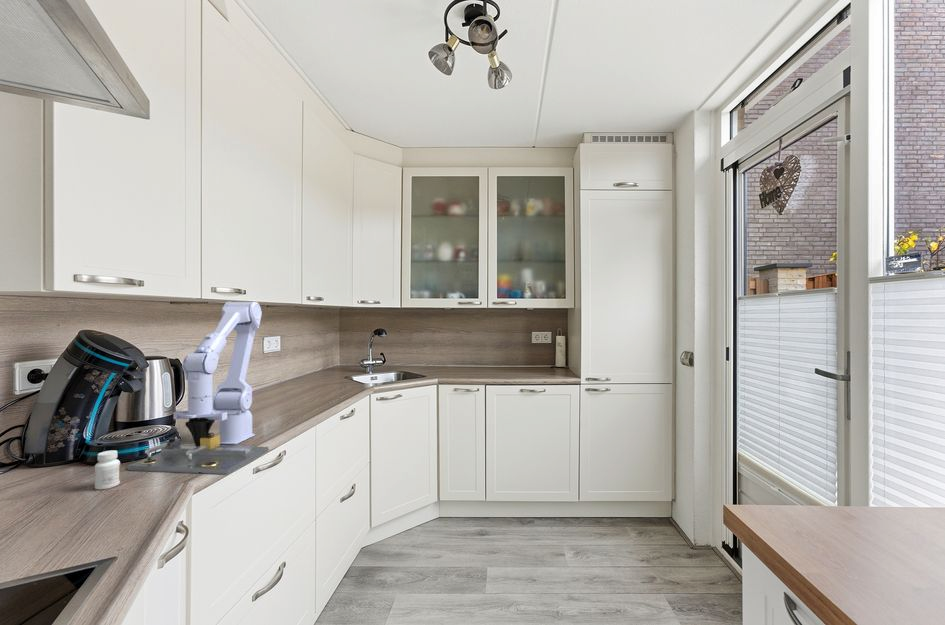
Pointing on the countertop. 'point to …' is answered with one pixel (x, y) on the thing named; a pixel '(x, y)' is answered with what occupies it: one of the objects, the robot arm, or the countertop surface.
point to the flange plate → (198, 461)
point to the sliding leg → (205, 444)
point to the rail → (209, 451)
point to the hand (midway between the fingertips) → (200, 445)
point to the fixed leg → (164, 446)
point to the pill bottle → (107, 470)
